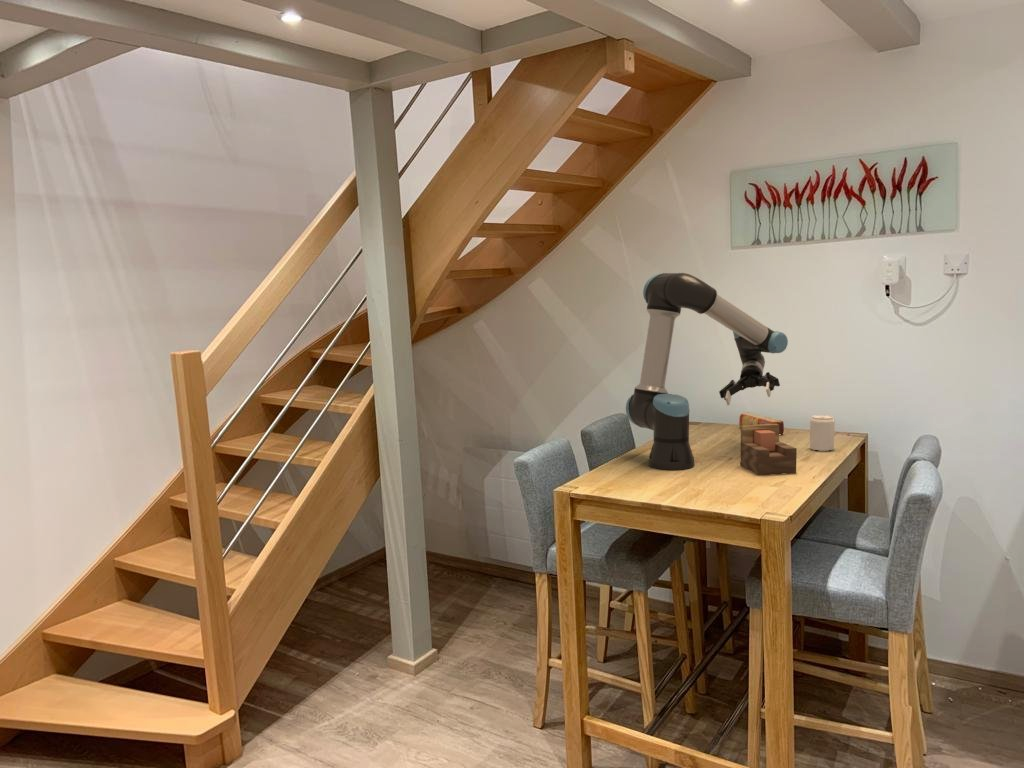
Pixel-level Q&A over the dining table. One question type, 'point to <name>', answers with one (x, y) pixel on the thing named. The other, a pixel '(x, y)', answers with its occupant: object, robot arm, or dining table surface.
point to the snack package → (759, 420)
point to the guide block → (766, 453)
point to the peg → (764, 438)
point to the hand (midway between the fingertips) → (747, 397)
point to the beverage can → (822, 432)
